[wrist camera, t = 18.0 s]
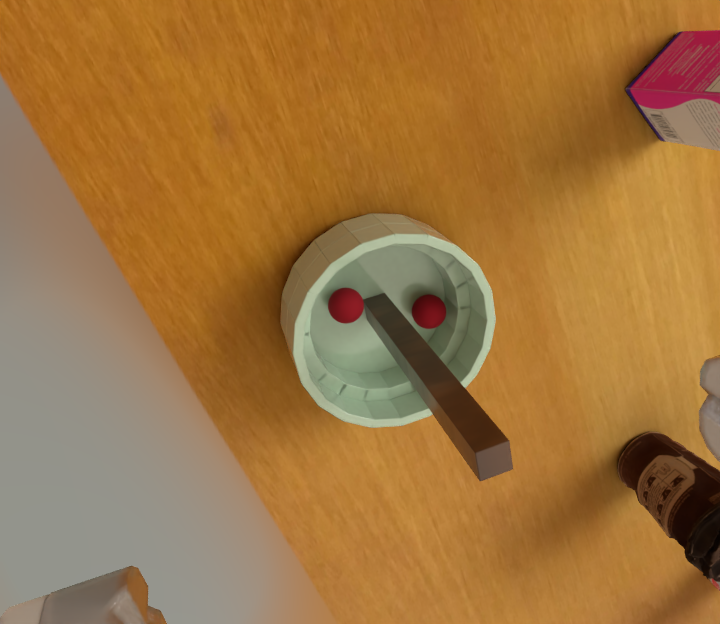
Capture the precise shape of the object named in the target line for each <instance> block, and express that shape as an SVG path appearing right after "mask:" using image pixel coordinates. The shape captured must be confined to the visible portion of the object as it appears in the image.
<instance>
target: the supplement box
mask: <svg viewBox="0 0 720 624" xmlns="http://www.w3.org/2000/svg"><path fill="white" fill-rule="evenodd" d="M625 90H626V92H627V94H628V95H629V96H630V98H631V99H632V101H633V102H634V104H635V105H636V107H637V108H638V110H639V111H640V112H641V114H642V115H643V117H644V118H645V119H646V121H647V122H648V124H649V125H650V126H651V128H652V129H653V131H654V132H655V133H656V135H657V136H658V138H659V139H660V141H667V142H673V143H679V144H685V145H690V146H696V147H702V148H707V149H713V150H719V151H720V30H715V31H686V32H679V33H678V34H677V35H676V36H675V37H674V38H673V39H672V40H671V41H670V42H669V43H668V44H667V45H666V46H665V47H664V49H663V50H662V51H661V52H660V53H659V54H658V55H657V56H656V57H655V58H654V59H653V60H652V61H651V62H650V63H649V64H648V66H647V67H646V68H645V69H644V70H643V71H642V72H641V73H640V74H639V75H638V76H637V77H636V79H635V80H634V81H633V82H632V83H630V84H629V86H628V87H627V88H626V89H625Z"/></svg>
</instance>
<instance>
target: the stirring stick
mask: <svg viewBox="0 0 720 624" xmlns="http://www.w3.org/2000/svg"><path fill="white" fill-rule="evenodd" d="M363 302H364V309H365V313H366V317H367V321H368V322H369V324H370V325H371V326H372V328H373V329H374V331H375V332H376V334H377V335H378V336H379V338H380V339H381V341H382V342H383V344H384V345H385V346H386V348H387V349H388V351H389V352H390V354H391V355H392V356H393V358H394V359H395V361H396V362H397V364H398V365H399V366H400V368H401V369H402V371H403V372H404V374H405V375H406V376H407V378H408V379H409V381H410V382H411V384H412V385H413V386H414V388H415V389H416V391H417V392H418V394H419V395H420V396H421V398H422V399H423V401H424V402H425V404H426V405H427V406H428V408H429V409H430V411H431V412H432V414H433V415H434V416H435V418H436V419H437V421H438V422H439V424H440V425H441V426H442V428H443V429H444V431H445V432H446V434H447V435H448V436H449V438H450V439H451V441H452V442H453V444H454V445H455V446H456V448H457V449H458V451H459V452H460V454H461V455H462V456H463V458H464V459H465V461H466V462H467V464H468V465H469V466H470V468H471V469H472V471H473V472H474V474H475V475H476V476H477V478H478V479H479V481H483V480H485V479H488V478H491V477H493V476H496V475H499V474H501V473H504V472H507V471H510V470H512V469H513V465H512V458H511V450H510V443H509V440H508V439H507V438H506V436H505V435H504V434H503V433H502V432H501V430H500V429H499V428H498V427H497V426H496V424H495V423H494V422H493V421H492V420H491V419H490V417H489V416H488V415H487V414H486V413H485V411H484V410H483V409H482V408H481V407H480V405H479V404H478V403H477V402H476V401H475V400H474V398H473V397H472V396H471V395H470V394H469V392H468V391H467V390H466V389H465V388H464V386H463V385H462V384H461V383H460V382H459V381H458V379H457V378H456V377H455V376H454V375H453V373H452V372H451V371H450V370H449V369H448V367H447V366H446V365H445V364H444V363H443V362H442V360H441V359H440V358H439V357H438V356H437V354H436V353H435V352H434V351H433V350H432V348H431V347H430V346H429V345H428V344H427V343H426V341H425V340H424V339H423V338H422V337H421V335H420V334H419V333H418V332H417V331H416V329H415V328H414V327H413V326H412V325H411V324H410V322H409V321H408V320H407V319H406V318H405V316H404V315H403V314H402V313H401V312H400V310H399V309H398V308H397V307H396V306H395V305H394V303H393V302H392V301H391V300H390V299H389V297H388V296H387V295H386V294H385V293H383V294H379V295H376V296H373V297H370V298H367V299H363Z"/></svg>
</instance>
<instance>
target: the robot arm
mask: <svg viewBox="0 0 720 624" xmlns="http://www.w3.org/2000/svg"><path fill="white" fill-rule="evenodd" d="M700 386H701V387H702V388H703V389H704V390H705V391H706V392H707V393H708V394H709V395H708V396H707V398H706V400H705V401H704V403H703V405H702V407H701V408H700V410H699V428H700V432H701V434H702V436H703V439H704V441H705V443H706V446H707V448H708V449H709V450H710V451H711V453H712V454H713V455H714V456H715V458H716V459H717V460H718V461H719V462H720V355H718V356H715V357H713V358H710V359H707V360H706V361H705V363H704V365H703V366H702V368H701V371H700ZM0 624H167V623H166V621H165V619H164V617H163V615H162V613H161V611H160V610H157V609H155V608H153V607H150V606H148V585H147V583H146V582H145V580H144V578H143V576H142V575H141V573H140V571H139V569H138V568H136V567H133V566H129V567H126V568H124V569H120V570H117V571H115V572H112V573H108V574H106V575H103V576H99V577H96V578H93V579H90V580H87V581H85V582H81V583H79V584H75V585H72V586H70V587H67V588H63V589H60V590H57V591H55V592H52V593H51V594H49V595H45V596H42V597H39V598H36V599H33V600H30V601H27V602H24V603H21V604H18V605H15V606H12V607H9V608H8V609H7V610H6V612H5V613H4V614H3V615H2V616H1V618H0Z"/></svg>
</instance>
